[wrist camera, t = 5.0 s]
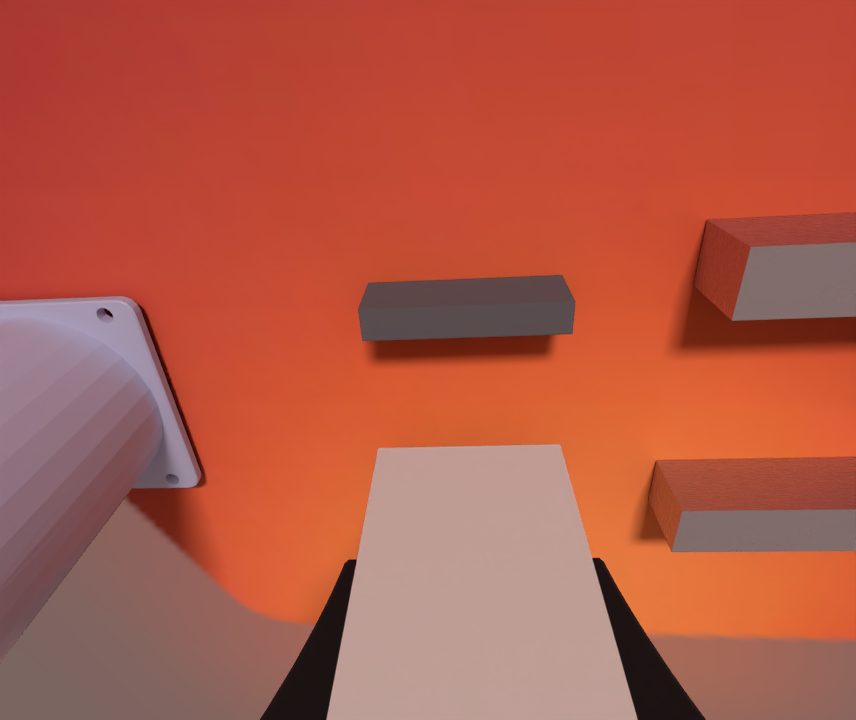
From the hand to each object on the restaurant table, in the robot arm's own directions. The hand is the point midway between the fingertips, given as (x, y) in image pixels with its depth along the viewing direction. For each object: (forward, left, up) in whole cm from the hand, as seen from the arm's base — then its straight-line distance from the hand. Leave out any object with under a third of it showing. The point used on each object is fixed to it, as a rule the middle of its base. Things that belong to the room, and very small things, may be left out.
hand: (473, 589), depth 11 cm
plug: (0, 0, -2) cm, 2 cm away
